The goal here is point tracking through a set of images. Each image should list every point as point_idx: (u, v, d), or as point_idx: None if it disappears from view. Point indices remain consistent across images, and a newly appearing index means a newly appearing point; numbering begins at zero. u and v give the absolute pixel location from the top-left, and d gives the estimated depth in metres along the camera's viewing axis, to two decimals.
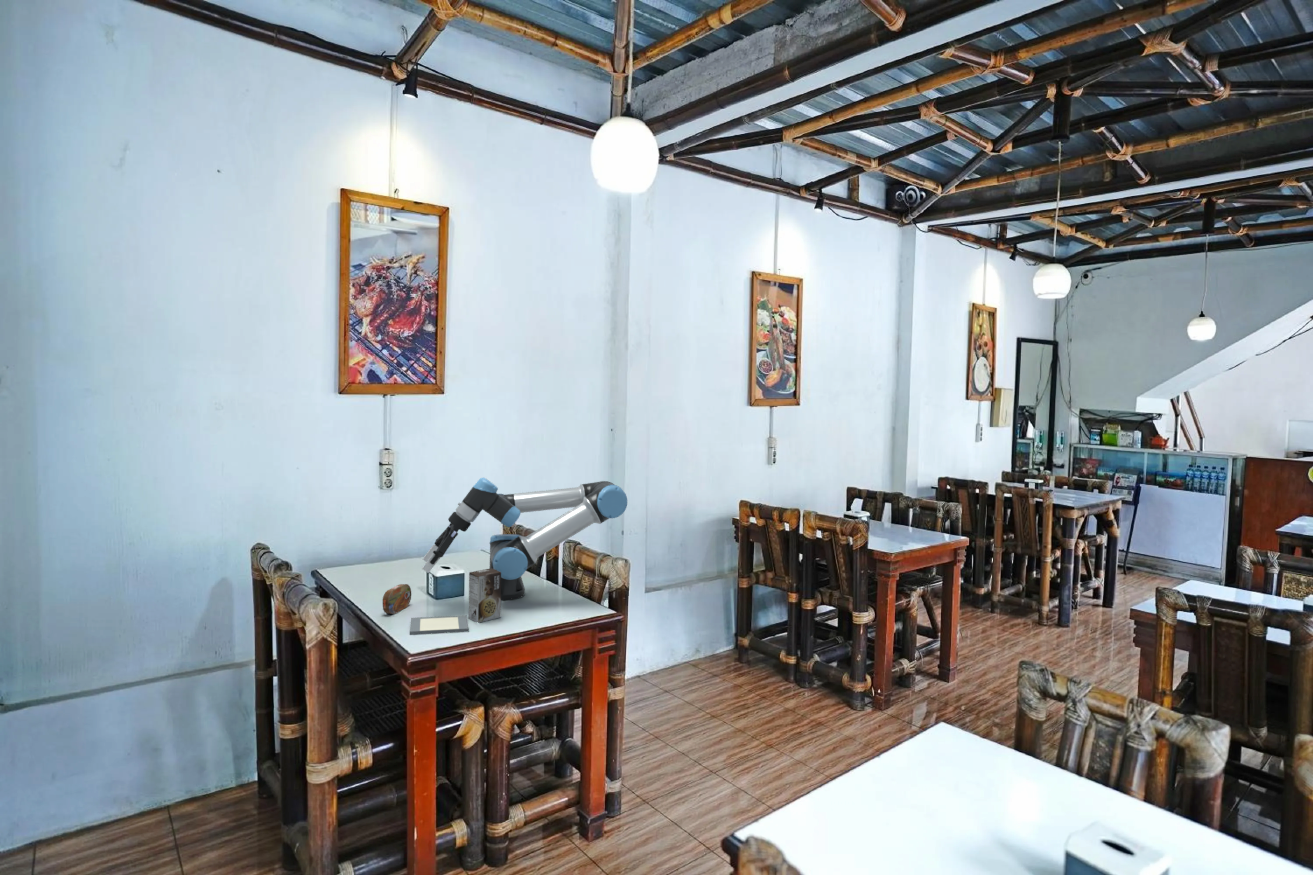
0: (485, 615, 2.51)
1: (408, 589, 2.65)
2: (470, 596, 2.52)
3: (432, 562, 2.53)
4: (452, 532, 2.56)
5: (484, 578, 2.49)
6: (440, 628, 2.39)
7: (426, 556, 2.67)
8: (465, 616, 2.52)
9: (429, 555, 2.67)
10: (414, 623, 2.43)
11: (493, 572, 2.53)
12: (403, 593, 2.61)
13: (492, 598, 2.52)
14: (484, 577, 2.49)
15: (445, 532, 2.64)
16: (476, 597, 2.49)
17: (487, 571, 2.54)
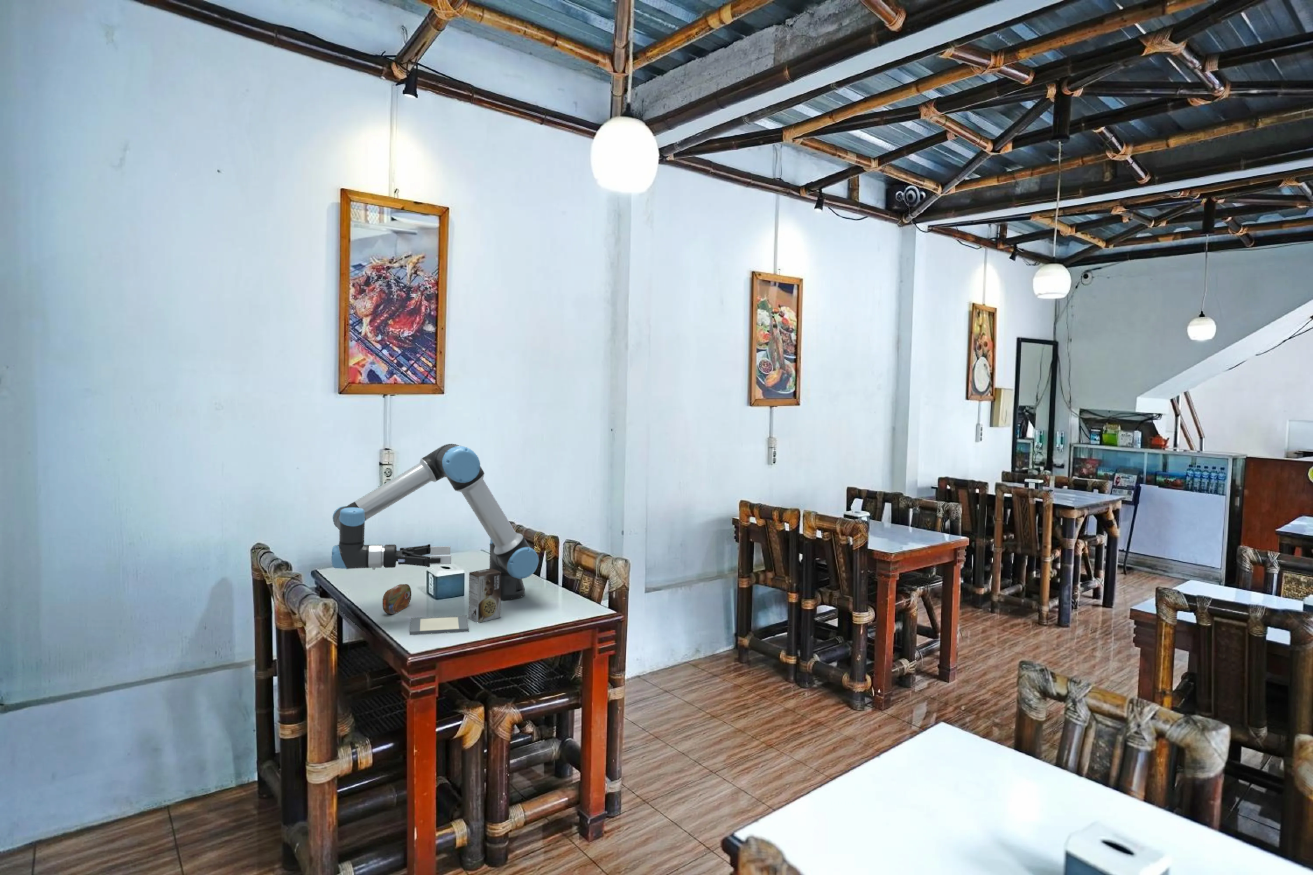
0: (484, 615, 2.51)
1: (408, 589, 2.65)
2: (470, 596, 2.52)
3: (438, 560, 2.40)
4: (400, 562, 2.39)
5: (484, 578, 2.49)
6: (440, 628, 2.39)
7: (445, 552, 2.55)
8: (465, 616, 2.52)
9: (442, 551, 2.55)
10: (414, 623, 2.43)
11: (493, 572, 2.53)
12: (403, 593, 2.61)
13: (492, 598, 2.52)
14: (484, 577, 2.49)
15: None
16: (476, 597, 2.49)
17: (487, 571, 2.54)
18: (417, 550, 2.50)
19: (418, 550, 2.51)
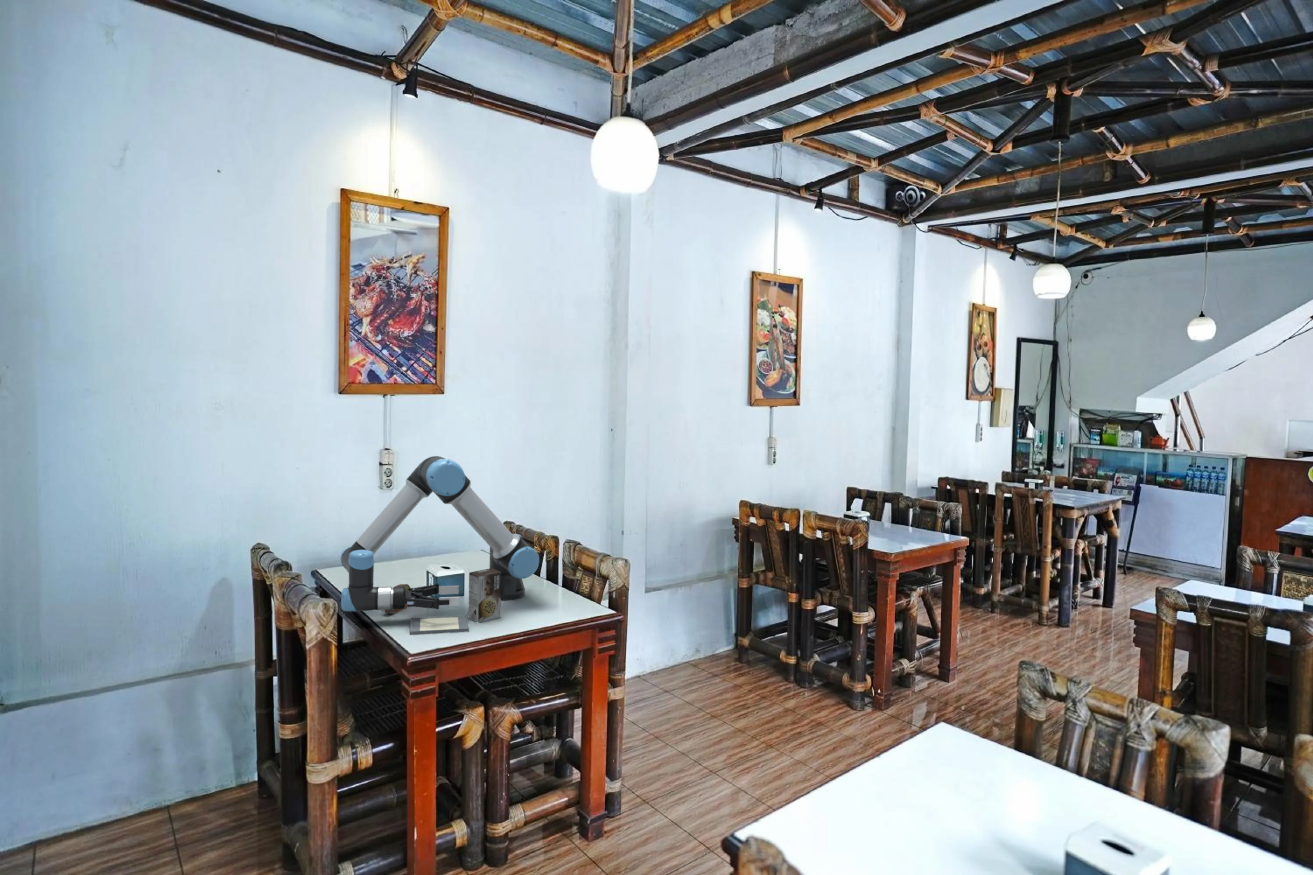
0: (484, 615, 2.51)
1: (408, 589, 2.65)
2: (470, 596, 2.52)
3: (447, 602, 2.42)
4: (409, 604, 2.40)
5: (484, 578, 2.49)
6: (440, 628, 2.39)
7: (453, 592, 2.57)
8: (465, 616, 2.52)
9: (451, 590, 2.57)
10: (414, 623, 2.43)
11: (493, 572, 2.53)
12: None
13: (492, 598, 2.52)
14: (484, 577, 2.49)
15: None
16: (476, 597, 2.49)
17: (487, 571, 2.54)
18: (426, 590, 2.52)
19: (427, 590, 2.52)
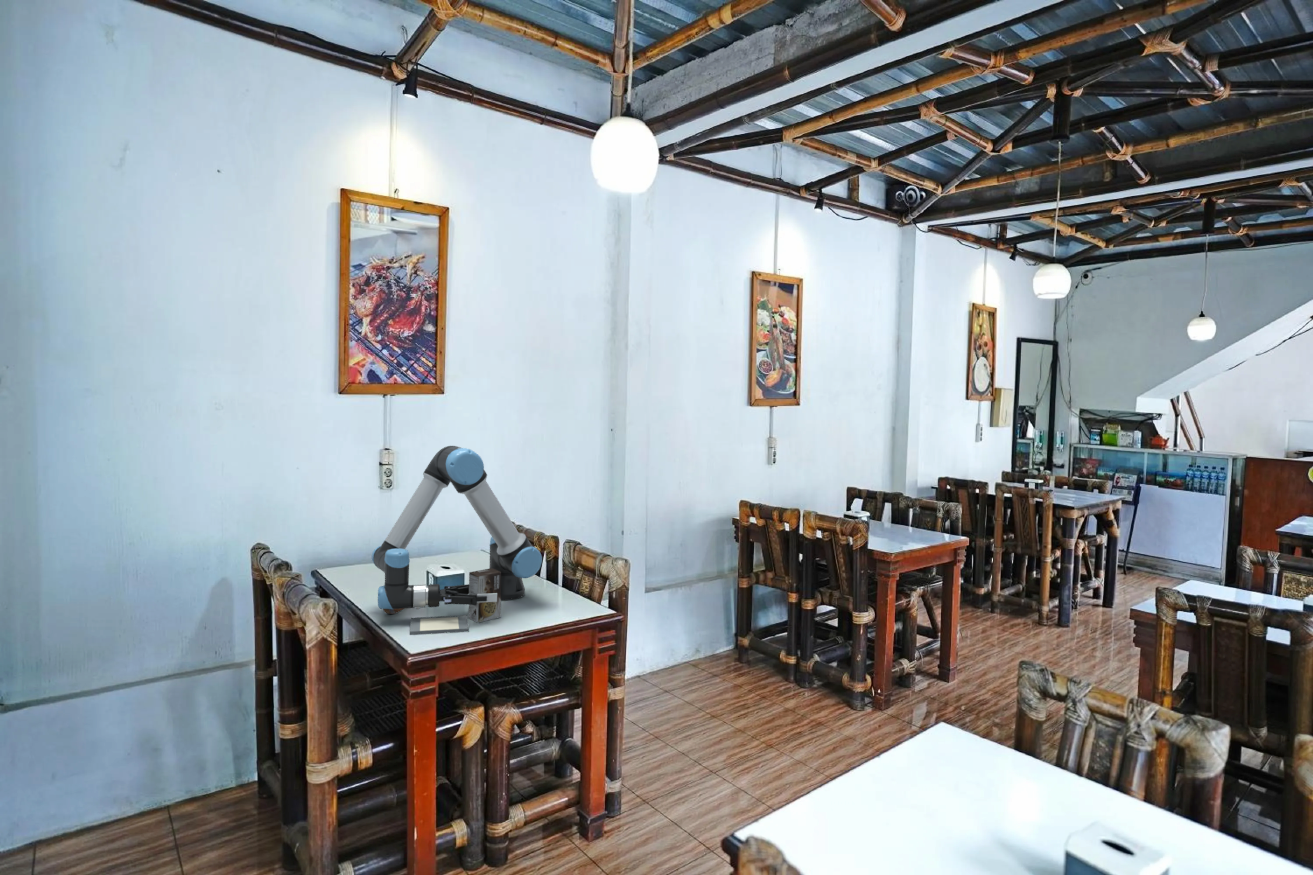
0: (485, 615, 2.51)
1: None
2: None
3: (485, 598, 2.47)
4: (447, 602, 2.44)
5: (484, 578, 2.49)
6: (440, 628, 2.39)
7: None
8: (465, 616, 2.52)
9: None
10: (414, 623, 2.43)
11: (493, 572, 2.53)
12: None
13: None
14: (484, 577, 2.50)
15: None
16: None
17: (487, 571, 2.54)
18: (461, 589, 2.54)
19: (462, 589, 2.55)
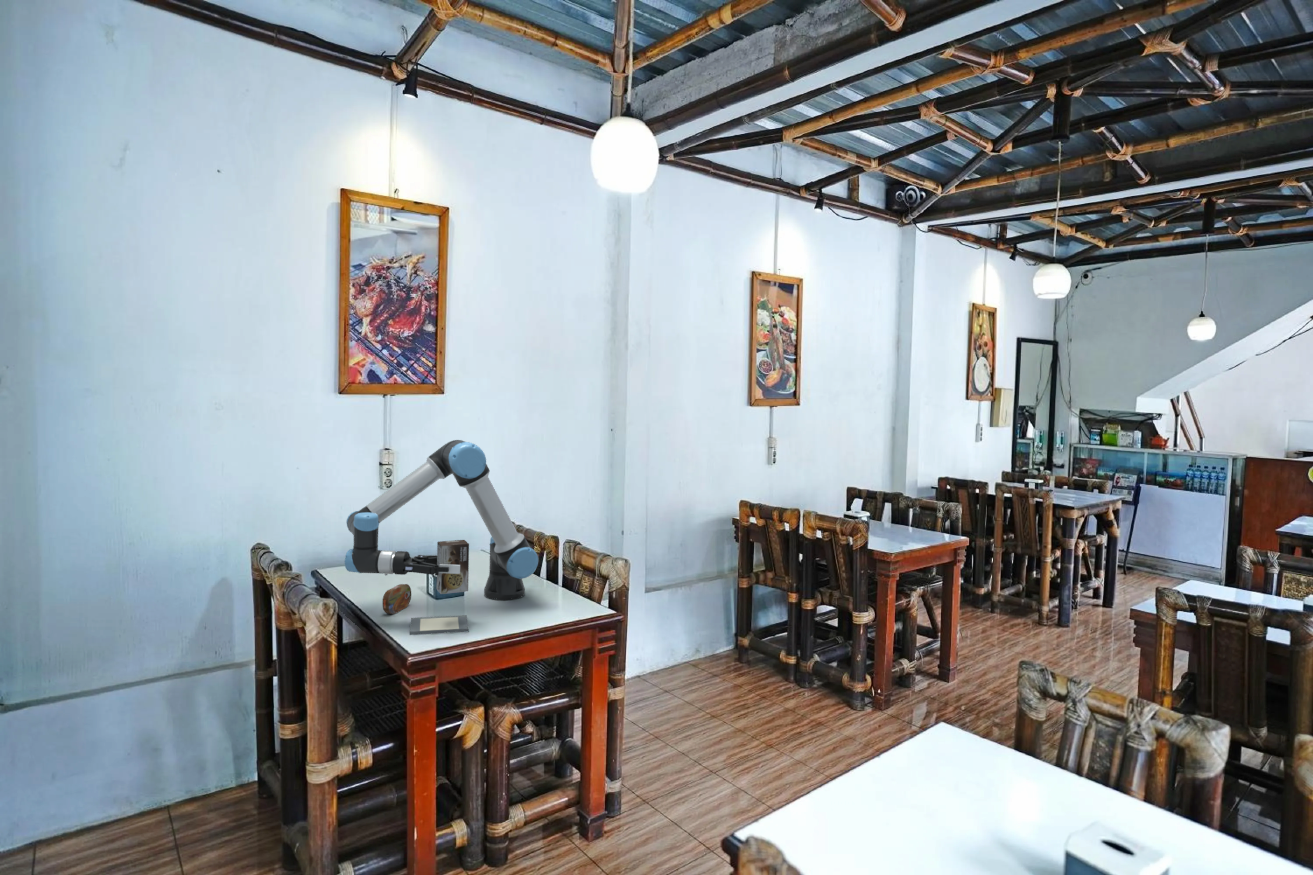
0: (449, 587, 2.41)
1: (408, 589, 2.65)
2: None
3: (446, 569, 2.37)
4: (407, 570, 2.37)
5: (448, 548, 2.39)
6: (440, 628, 2.39)
7: None
8: (465, 616, 2.52)
9: None
10: (414, 623, 2.43)
11: (460, 543, 2.42)
12: (403, 593, 2.61)
13: None
14: (448, 547, 2.39)
15: None
16: None
17: (455, 542, 2.44)
18: (431, 559, 2.47)
19: (432, 559, 2.47)
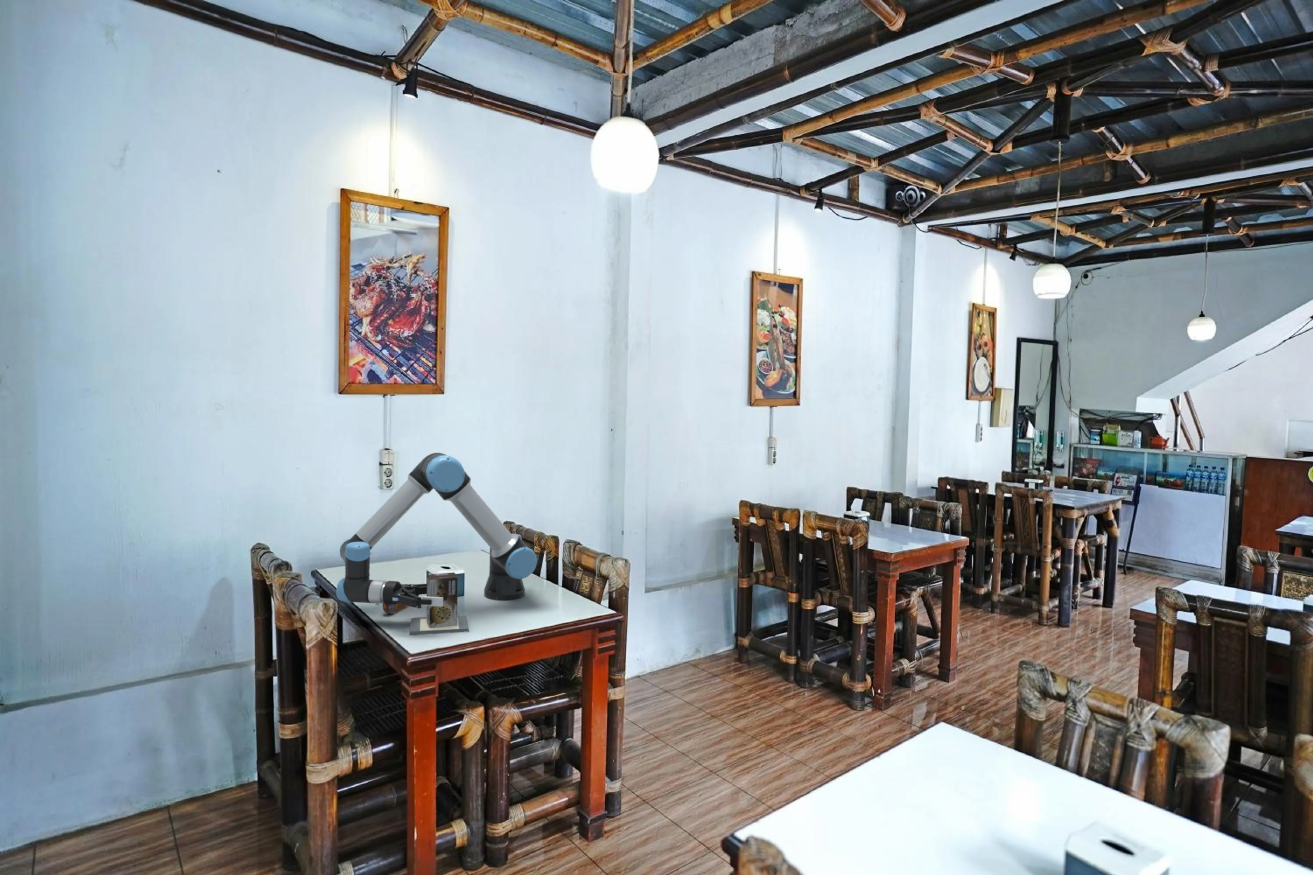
0: (437, 621, 2.40)
1: None
2: None
3: (428, 602, 2.34)
4: (394, 601, 2.37)
5: (436, 582, 2.38)
6: (440, 628, 2.39)
7: None
8: (465, 616, 2.52)
9: None
10: (414, 623, 2.43)
11: (448, 577, 2.41)
12: None
13: (447, 603, 2.40)
14: (436, 581, 2.38)
15: None
16: None
17: (445, 575, 2.42)
18: (422, 588, 2.47)
19: (423, 588, 2.47)
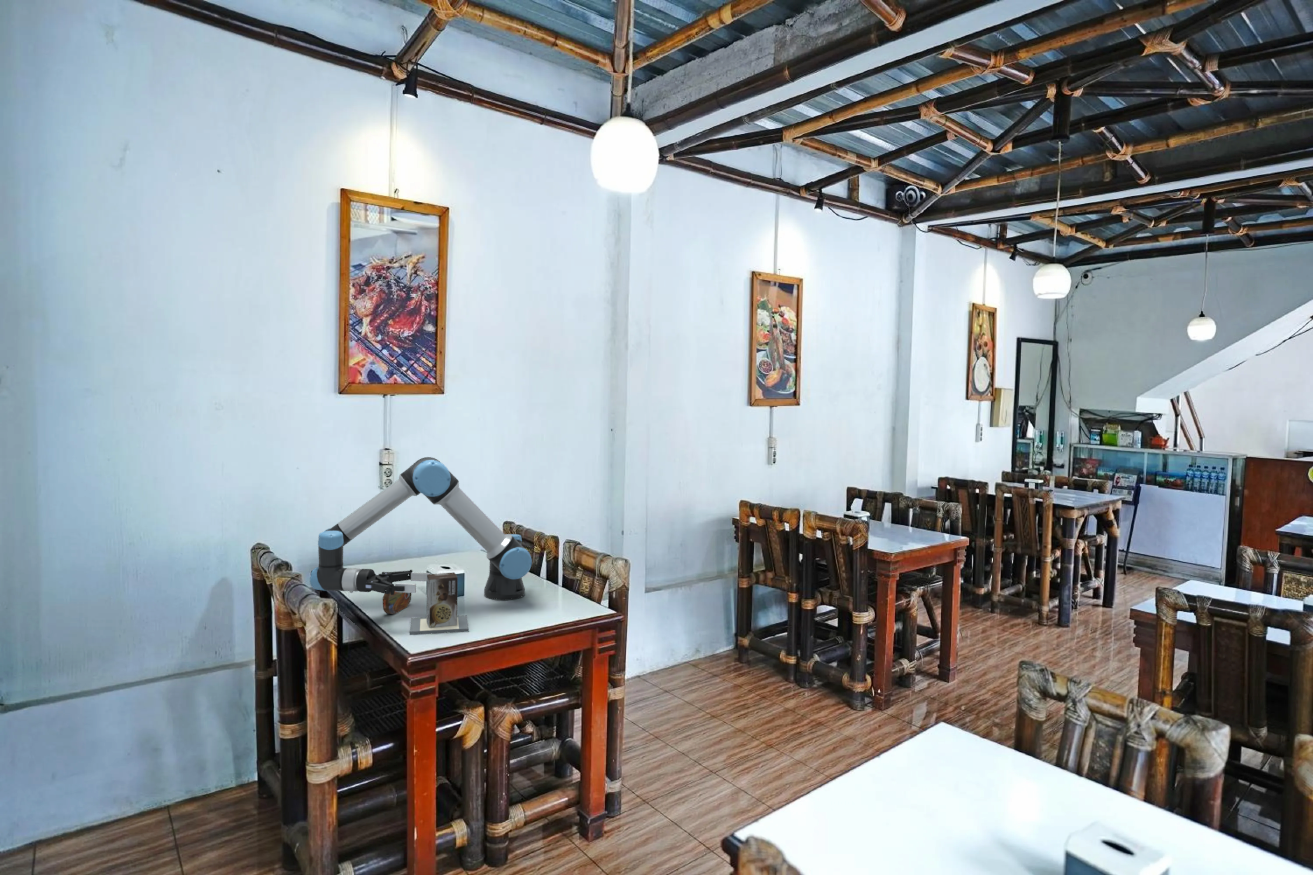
0: (437, 621, 2.40)
1: None
2: (427, 599, 2.43)
3: (401, 589, 2.37)
4: (367, 588, 2.39)
5: (436, 582, 2.38)
6: (440, 628, 2.39)
7: (425, 579, 2.51)
8: (465, 616, 2.52)
9: (422, 577, 2.51)
10: (414, 623, 2.43)
11: (448, 577, 2.41)
12: (403, 593, 2.61)
13: (447, 603, 2.40)
14: (436, 581, 2.38)
15: None
16: (428, 601, 2.39)
17: (445, 575, 2.42)
18: (395, 575, 2.49)
19: (397, 575, 2.50)
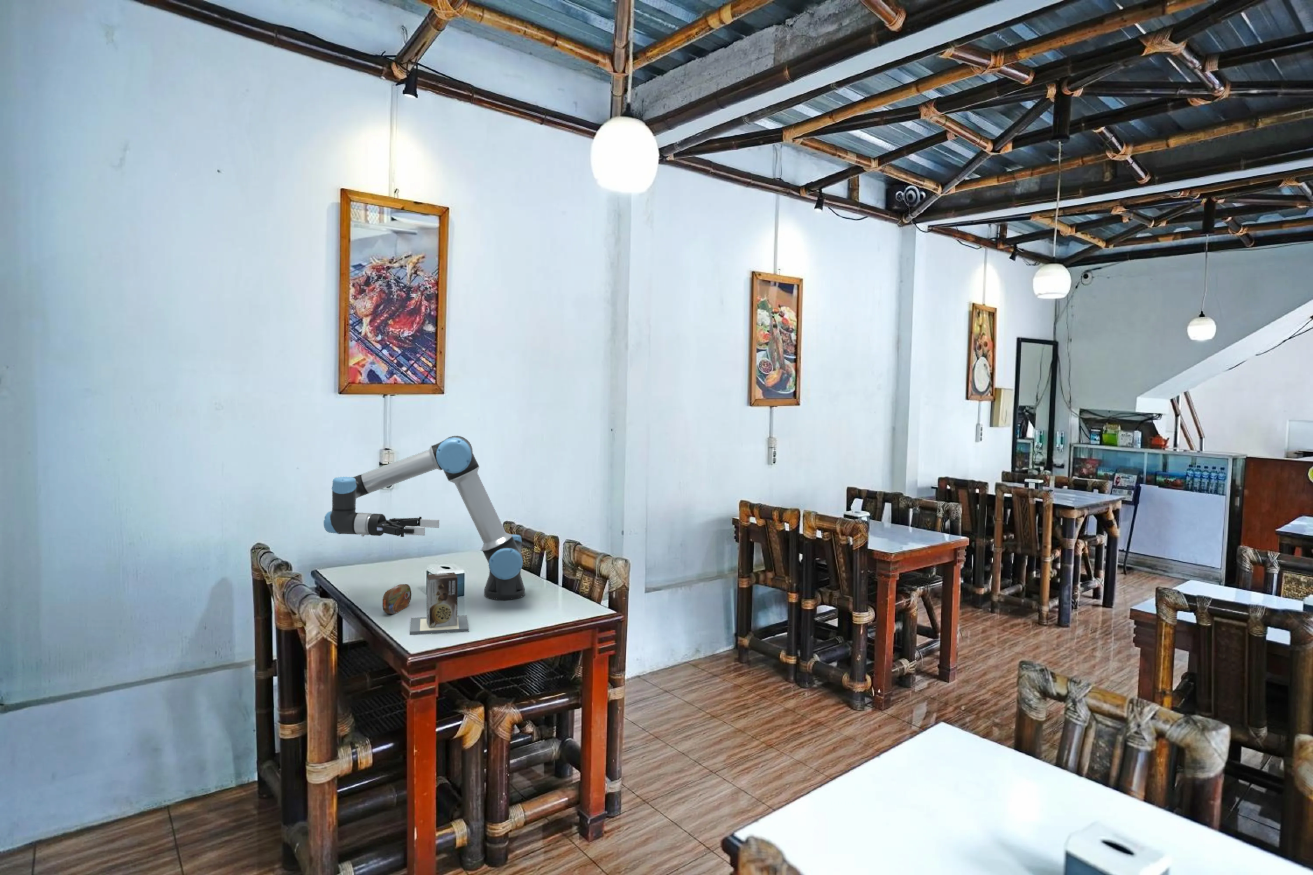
0: (437, 621, 2.40)
1: (408, 589, 2.65)
2: (427, 599, 2.43)
3: (411, 531, 2.47)
4: (378, 530, 2.49)
5: (436, 582, 2.38)
6: (440, 628, 2.39)
7: (433, 526, 2.61)
8: (465, 616, 2.52)
9: (431, 524, 2.61)
10: (414, 623, 2.43)
11: (448, 577, 2.41)
12: (403, 593, 2.61)
13: (447, 603, 2.40)
14: (436, 581, 2.38)
15: None
16: (428, 601, 2.39)
17: (445, 575, 2.42)
18: (405, 521, 2.59)
19: (406, 521, 2.59)
